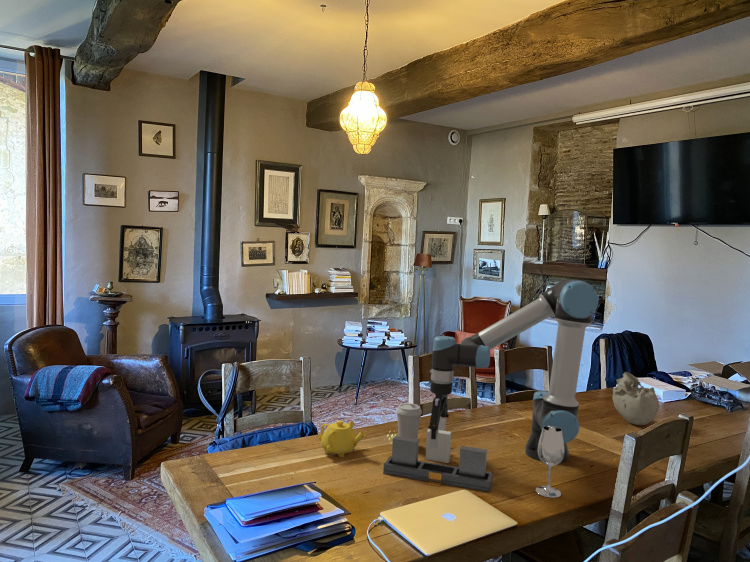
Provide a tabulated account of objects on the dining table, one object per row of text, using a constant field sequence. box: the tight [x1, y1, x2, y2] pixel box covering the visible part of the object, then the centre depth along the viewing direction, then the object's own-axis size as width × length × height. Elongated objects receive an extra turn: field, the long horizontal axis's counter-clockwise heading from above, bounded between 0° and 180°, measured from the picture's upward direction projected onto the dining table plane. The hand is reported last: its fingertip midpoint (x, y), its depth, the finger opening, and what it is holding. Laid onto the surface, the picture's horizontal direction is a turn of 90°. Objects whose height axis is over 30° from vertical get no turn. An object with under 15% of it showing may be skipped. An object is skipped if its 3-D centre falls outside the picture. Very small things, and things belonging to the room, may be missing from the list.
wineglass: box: [535, 426, 564, 499], centre depth 170 cm, size 8×8×20 cm
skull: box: [612, 371, 661, 426], centre depth 244 cm, size 20×15×22 cm
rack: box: [382, 435, 494, 493], centre depth 177 cm, size 34×10×11 cm, turn 72°
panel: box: [425, 428, 452, 464], centre depth 193 cm, size 8×3×10 cm, turn 72°
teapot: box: [318, 420, 366, 458], centre depth 196 cm, size 14×14×11 cm
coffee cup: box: [395, 402, 423, 439], centre depth 205 cm, size 10×10×15 cm
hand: (437, 441), depth 193 cm, fingers open, 13 cm apart
